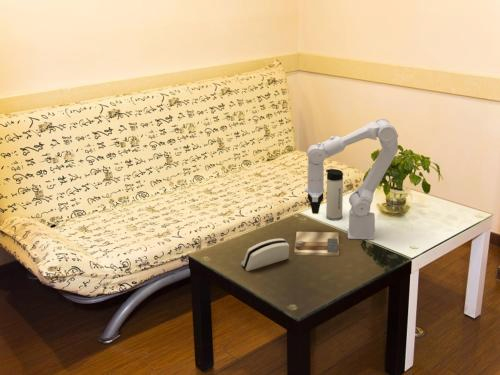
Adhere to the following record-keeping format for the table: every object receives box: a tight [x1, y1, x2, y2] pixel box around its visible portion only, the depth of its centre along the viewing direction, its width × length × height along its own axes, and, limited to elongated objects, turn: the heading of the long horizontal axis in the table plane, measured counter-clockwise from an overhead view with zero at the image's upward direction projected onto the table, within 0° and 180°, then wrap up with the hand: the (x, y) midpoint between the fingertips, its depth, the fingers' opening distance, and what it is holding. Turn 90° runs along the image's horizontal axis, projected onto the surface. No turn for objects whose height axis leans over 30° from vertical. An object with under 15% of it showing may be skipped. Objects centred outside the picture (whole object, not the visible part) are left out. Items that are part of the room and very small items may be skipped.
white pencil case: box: [240, 237, 290, 272], centre depth 199 cm, size 17×5×10 cm, turn 120°
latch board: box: [293, 231, 340, 257], centre depth 212 cm, size 16×17×1 cm
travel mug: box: [325, 168, 344, 221], centre depth 231 cm, size 6×7×20 cm
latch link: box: [294, 241, 340, 251], centre depth 207 cm, size 15×4×2 cm, turn 84°
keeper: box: [327, 238, 338, 253], centre depth 206 cm, size 4×5×3 cm
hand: (315, 213), depth 216 cm, fingers closed
